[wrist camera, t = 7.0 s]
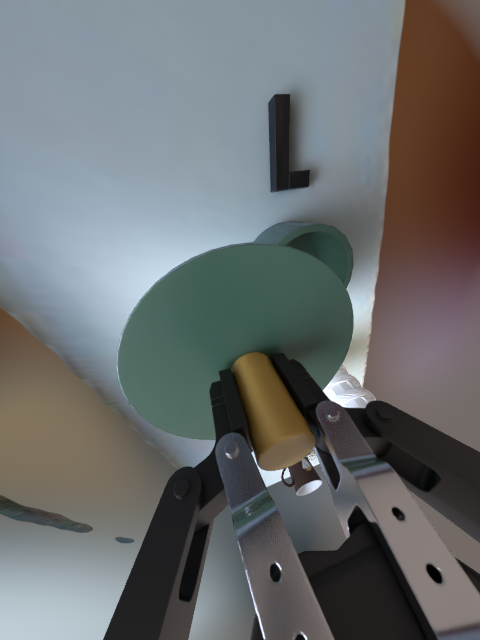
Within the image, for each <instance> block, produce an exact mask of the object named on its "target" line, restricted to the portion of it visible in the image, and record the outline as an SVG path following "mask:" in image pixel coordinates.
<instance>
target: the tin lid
mask: <svg viewBox="0 0 480 640" xmlns="http://www.w3.org/2000/svg"><path fill="white" fill-rule="evenodd" d="M352 333H353V309H352V304H351V300H350V297H349V294H348V292H347V290H346V288H345V286H344V284H343V282H342V281H341V280H340V278H339V277H338V276H337V275H336V273H335V272H334V271H333V270H332V269H331V268H330V267H328V266H327V265H326V264H325V263H324V262H323V261H321V260H319V259H317V258H316V257H314V256H312V255H311V254H309V253H306V252H303V251H301V250H298V249H295V248H292V247H289V246H284V245H279V244H274V243H256V242H251V243H242V244H233V245H229V246H225V247H221V248H217V249H213V250H210V251H208V252H205V253H203V254H200V255H198V256H195V257H193V258H191V259H189V260H187V261H186V262H184V263H182V264H180V265H179V266H177V267H175V268H174V269H172V270H171V271H170V272H168V273H167V274H166V275H165V276H163V277H162V278H161V279H159V280H158V281H157V282H156V283H155V284H154V285H153V286H152V287H151V288H150V289H149V290H148V291H147V292H146V293H145V295H144V296H143V297H142V298H141V299H140V301H139V302H138V304H137V305H136V307H135V308H134V310H133V311H132V313H131V315H130V316H129V319H128V321H127V323H126V325H125V327H124V329H123V332H122V334H121V338H120V342H119V346H118V350H117V364H116V365H117V373H118V380H119V383H120V386H121V389H122V392H123V394H124V395H125V397H126V399H127V401H128V403H129V404H130V405H131V406H132V408H133V409H134V410H135V411H136V412H137V413H138V414H139V415H140V416H141V417H142V418H143V419H144V420H146V421H147V422H149V423H150V424H152V425H153V426H155V427H157V428H159V429H161V430H163V431H165V432H168V433H171V434H174V435H177V436H181V437H186V438H191V439H201V440H216V433H215V427H214V420H213V413H212V406H211V400H210V393H209V390H210V387H211V384H212V383H213V382H216V381H219V380H220V376H219V371H221V370H224V369H228V368H231V371H232V375H233V378H234V381H235V384H236V388H237V391H238V394H239V397H240V401H241V404H242V407H243V410H244V414H245V417H246V420H247V423H248V428H249V433H250V440H251V444H252V447H253V451H254V454H255V457H256V461H257V464H258V466H259V467H260V468H261V469H263V470H266V471H275V470H280V469H284V468H287V467H290V466H292V465H294V464H296V463H298V462H299V461H301V460H302V459H304V458H305V457H306V456H307V455H308V454H309V453H310V452H311V451H312V450H313V449H314V447H315V445H316V437H315V435H314V433H313V432H312V430H311V428H310V426H309V425H308V423H307V421H306V420H305V418H304V416H303V415H302V413H301V411H300V410H299V408H298V406H297V405H296V403H295V401H294V399H293V398H292V396H291V394H290V393H289V391H288V389H287V388H286V386H285V384H284V383H283V381H282V379H281V378H280V376H279V374H278V372H277V371H276V369H275V367H274V366H273V364H272V362H271V356H273V355H277V354H280V353H284V354H285V355H286V357H287V358H288V360H291V359H295V360H297V361H298V362H300V363H301V364H302V365H303V366H304V368H305V369H306V370H307V371H308V373H309V374H310V375H311V377H312V378H313V379H314V380H315V381H316V383H317V384H318V385H319V387H320V388H321V389H322V390H324V389H325V388H326V386H327V385H328V384H329V383H330V381H331V380H332V379H333V377H334V376H335V374H336V373H337V372H338V370H339V368H340V366H341V365H342V363H343V361H344V359H345V357H346V354H347V352H348V349H349V346H350V342H351V339H352Z"/></svg>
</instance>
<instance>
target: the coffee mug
mask: <svg viewBox="0 0 480 640" xmlns="http://www.w3.org/2000/svg"><path fill="white" fill-rule="evenodd" d="M288 468H289V472H290V475H291V478H292V484H287V483H286V482H285V481H284V478H283V475H284V471H285V470H286V468H284V470H283V472H282V476H281V478H282V481H283V483H284V484H285V485H286V486H288V487H292V486H293V485H294V488H295V491H296V494H297V495H299V496H301V495H306V494H308V493H310V492H312V491H314V490H316V489H317V488H318V487H320V485H321V484H322V480H321V479H320V477H319V476H318V474H317V473H316V471H315V469H314V468H313V466H312V465H311V463H310V461H309V460H308V458H307V457H305V458H304V459H302V460H301V461H299V462H298V463H296V464H294V465H292V466H290V467H288Z"/></svg>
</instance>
